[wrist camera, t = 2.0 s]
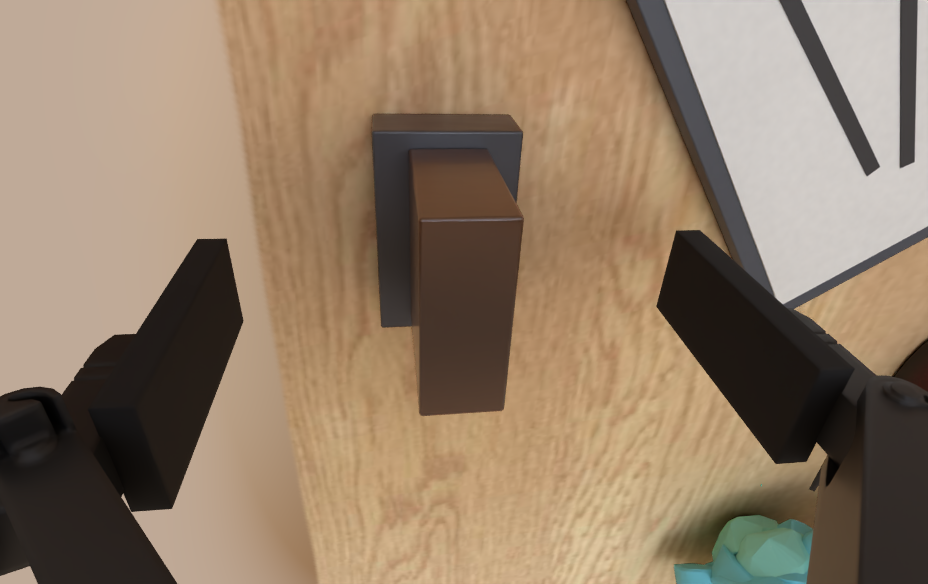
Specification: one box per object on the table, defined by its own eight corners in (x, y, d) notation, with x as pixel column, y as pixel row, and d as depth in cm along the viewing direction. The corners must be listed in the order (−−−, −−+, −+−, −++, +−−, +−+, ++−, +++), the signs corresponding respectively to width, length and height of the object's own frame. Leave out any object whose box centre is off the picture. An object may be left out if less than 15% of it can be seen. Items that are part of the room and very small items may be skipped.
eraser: (372, 113, 18) (369, 198, 12) (510, 114, 18) (573, 195, 12) (381, 297, 21) (381, 433, 15) (495, 294, 22) (538, 422, 16)
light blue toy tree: (864, 457, 37) (873, 477, 25) (918, 604, 35) (958, 706, 23) (698, 478, 43) (640, 504, 31) (734, 607, 40) (685, 690, 28)
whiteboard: (575, -121, 15) (588, -125, 14) (1125, -538, 12) (1183, -574, 11) (754, 312, 24) (768, 326, 23) (1092, 129, 21) (1123, 137, 21)
